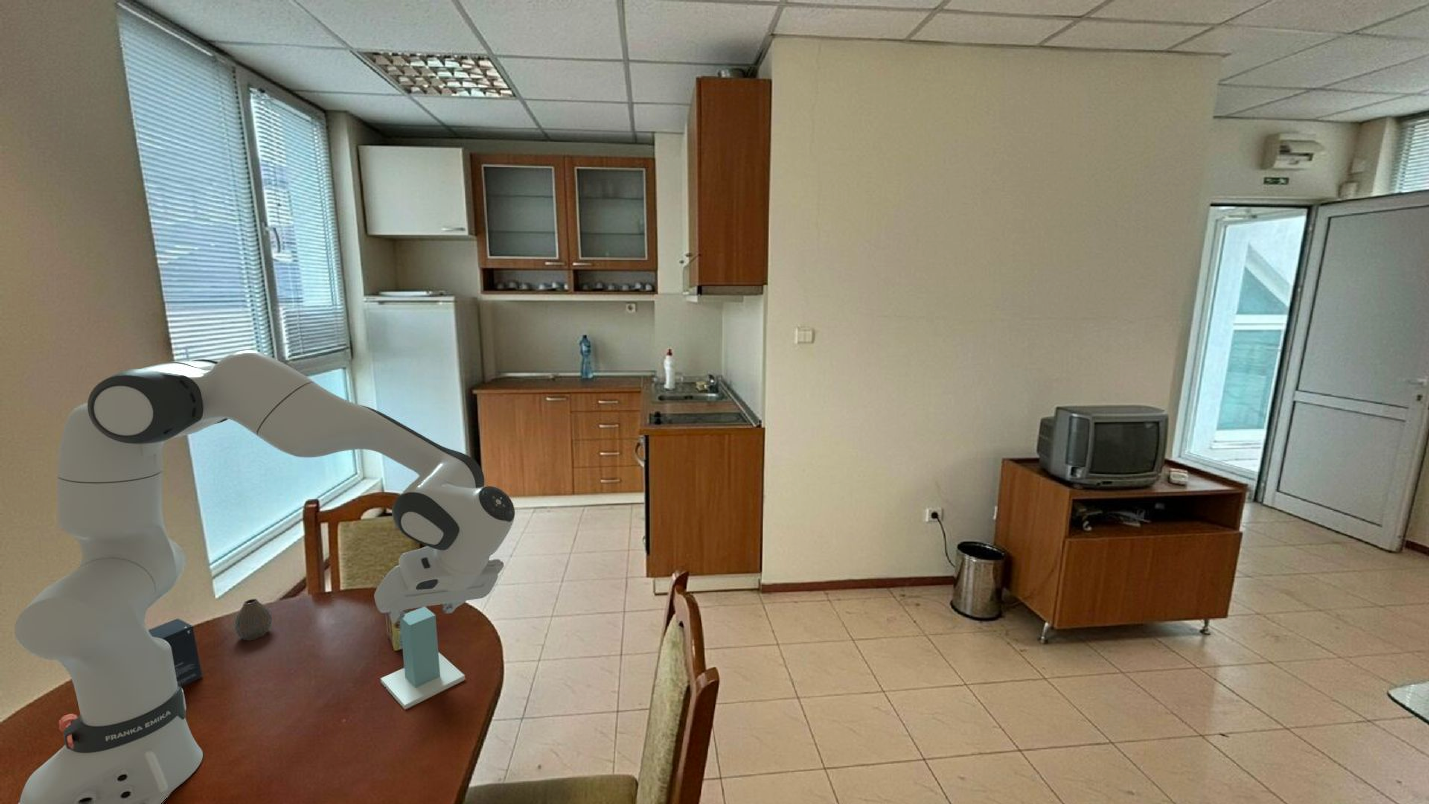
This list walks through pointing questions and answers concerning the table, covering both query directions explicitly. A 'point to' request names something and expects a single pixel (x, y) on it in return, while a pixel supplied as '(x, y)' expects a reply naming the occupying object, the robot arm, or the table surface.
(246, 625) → the vase
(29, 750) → the table surface
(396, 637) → the candy box
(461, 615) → the table surface
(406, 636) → the teal block
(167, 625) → the small box
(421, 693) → the pad
